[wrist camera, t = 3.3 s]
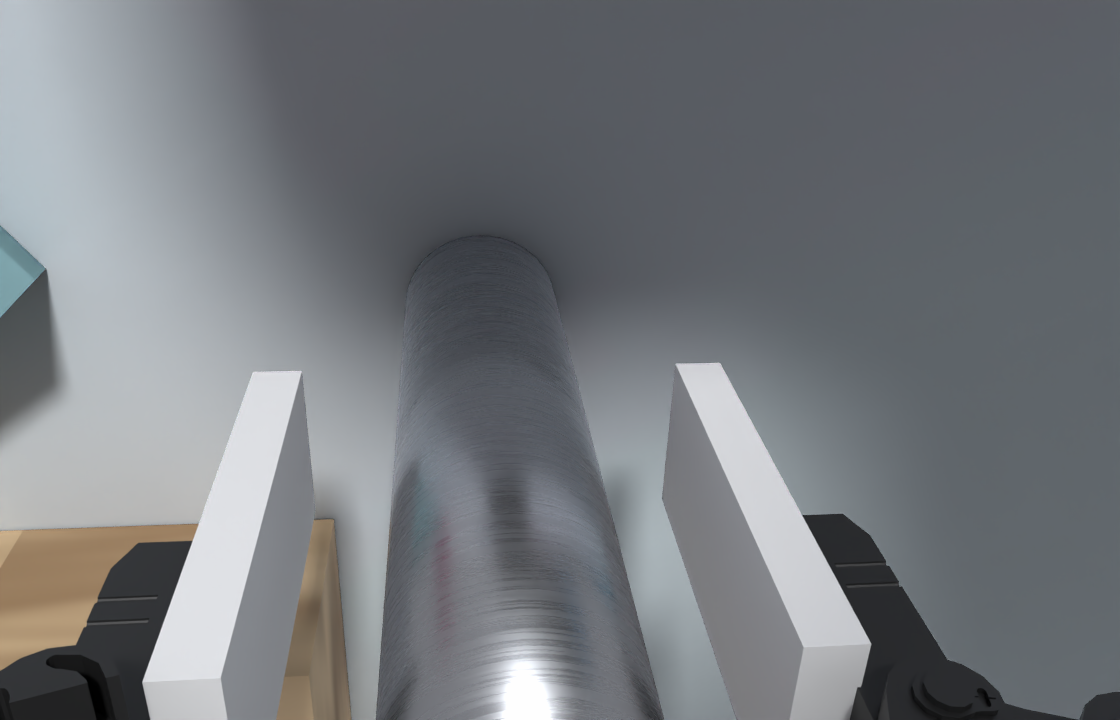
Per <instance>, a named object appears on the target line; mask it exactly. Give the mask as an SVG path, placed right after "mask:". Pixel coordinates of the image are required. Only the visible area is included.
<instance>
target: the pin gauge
mask: <svg viewBox="0 0 1120 720" xmlns="http://www.w3.org/2000/svg"><path fill="white" fill-rule="evenodd" d="M376 720H664V717H663V713H662V709H661V706H660V702H659V698H658V694H657V690H656V686H655V682H654V678H653V675H652V671H651V667H650V663H649V659H648V655H647V651H646V647H645V643H644V640H643V636H642V632H641V628H640V624H639V620H638V616H637V612H636V609H635V605H634V601H633V597H632V593H631V589H630V585H629V581H628V578H627V574H626V570H625V566H624V562H623V558H622V554H621V550H620V546H619V543H618V539H617V535H616V531H615V527H614V523H613V519H612V515H611V512H610V508H609V504H608V500H607V496H606V492H605V488H604V484H603V481H602V477H601V473H600V469H599V465H598V461H597V457H596V453H595V449H594V446H593V442H592V438H591V434H590V430H589V426H588V422H587V418H586V415H585V411H584V407H583V403H582V399H581V395H580V391H579V387H578V384H577V380H576V376H575V372H574V368H573V364H572V360H571V356H570V352H569V349H568V345H567V341H566V337H565V333H564V329H563V325H562V321H561V318H560V314H559V310H558V306H557V302H556V298H555V294H554V290H553V287H552V284H551V281H550V278H549V276H548V274H547V272H546V270H545V269H544V267H543V266H542V265H541V263H540V262H539V261H538V260H537V259H536V258H535V257H534V256H533V255H532V254H531V253H530V252H528V251H527V250H526V249H524V248H523V247H521V246H519V245H517V244H515V243H513V242H511V241H508V240H505V239H502V238H497V237H492V236H470V237H465V238H460V239H457V240H454V241H451V242H449V243H447V244H445V245H443V246H441V247H439V248H438V249H436V250H435V251H433V252H432V253H431V254H430V255H429V256H427V257H426V258H425V260H424V261H423V262H422V263H421V264H420V265H419V267H418V268H417V270H416V271H415V273H414V275H413V277H412V279H411V281H410V284H409V287H408V291H407V297H406V309H405V322H404V336H403V350H402V364H401V378H400V392H399V406H398V420H397V433H396V447H395V461H394V475H393V489H392V503H391V517H390V531H389V544H388V558H387V572H386V586H385V600H384V614H383V628H382V642H381V655H380V669H379V683H378V697H377V711H376Z"/></svg>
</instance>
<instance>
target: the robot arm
mask: <svg viewBox="0 0 1120 720" xmlns="http://www.w3.org/2000/svg"><path fill="white" fill-rule="evenodd" d="M662 500H663V503H664V506H665V509H666V512H667V515H668V518H669V521H670V524H671V527H672V530H673V533H674V535H675V538H676V541H677V544H678V547H679V550H680V553H681V556H682V559H683V562H684V565H685V568H686V571H687V574H688V577H689V580H690V583H691V586H692V589H693V592H694V595H695V598H696V601H697V604H698V606H699V609H700V612H701V615H702V618H703V621H704V624H705V627H706V630H707V633H708V636H709V639H710V642H711V645H712V648H713V651H714V654H715V657H716V660H717V663H718V666H719V669H720V672H721V674H722V677H723V680H724V683H725V686H726V689H727V692H728V695H729V698H730V701H731V704H732V707H733V710H734V713H735V716H736V719H737V720H1076V719H1071V718H1066V717H1061V716H1056V715H1051V714H1046V713H1041V712H1036V711H1031V710H1026V709H1022V708H1019V707H1015V706H1012V705H1008V704H1005V703H1004V701H1003V699H1002V697H1001V695H1000V693H999V692H998V691H997V690H996V689H995V688H994V687H993V686H992V685H991V684H990V683H989V682H988V681H987V680H986V679H985V678H984V677H983V676H981V675H980V674H978V673H976V672H974V671H972V670H971V669H969V668H967V667H965V666H964V665H962V664H959V663H956V662H952V661H949V660H947V659H946V657H945V655H944V654H943V652H942V651H941V649H940V647H939V646H938V644H937V642H936V641H935V639H934V638H933V636H932V634H931V633H930V631H929V630H928V628H927V626H926V625H925V623H924V622H923V620H922V618H921V617H920V615H919V614H918V612H917V610H916V609H915V607H914V605H913V604H912V602H911V601H910V599H909V597H908V596H907V594H906V593H905V591H904V589H903V588H902V587H899V584H898V583H899V581H898V580H897V578H896V576H895V575H894V573H893V572H892V570H891V568H890V567H889V566H886V560H885V559H884V557H883V556H882V554H881V552H880V551H879V549H878V548H877V546H876V544H875V543H874V541H873V539H872V538H871V536H870V535H869V534H867V533H866V532H865V531H864V530H862V529H861V528H860V527H859V526H857V525H856V524H855V523H853V522H852V521H851V520H850V519H848V518H847V517H846V516H845V515H843V514H828V515H802V514H801V512H800V511H799V509H798V507H797V505H796V503H795V501H794V499H793V498H792V496H791V494H790V492H789V490H788V488H787V486H786V485H785V483H784V481H783V479H782V477H781V475H780V473H779V472H778V470H777V468H776V466H775V464H774V462H773V460H772V459H771V457H770V455H769V453H768V451H767V449H766V447H765V446H764V444H763V442H762V440H761V438H760V436H759V434H758V433H757V431H756V429H755V427H754V425H753V423H752V421H751V420H750V418H749V416H748V414H747V412H746V410H745V408H744V407H743V405H742V403H741V401H740V399H739V397H738V395H737V394H736V392H735V390H734V388H733V386H732V384H731V382H730V381H729V379H728V377H727V375H726V373H725V371H724V369H723V368H722V366H721V364H720V363H685V364H675V374H674V384H673V394H672V404H671V414H670V423H669V433H668V443H667V453H666V463H665V473H664V483H663V493H662ZM315 511H316V510H315V500H314V489H313V479H312V469H311V459H310V448H309V438H308V428H307V418H306V408H305V397H304V387H303V377H302V371H270V372H253V373H252V376H251V379H250V382H249V385H248V387H247V390H246V393H245V396H244V399H243V401H242V404H241V407H240V410H239V413H238V415H237V418H236V421H235V424H234V427H233V429H232V432H231V435H230V438H229V441H228V443H227V446H226V449H225V452H224V455H223V458H222V460H221V463H220V466H219V469H218V472H217V474H216V477H215V480H214V483H213V486H212V488H211V491H210V494H209V497H208V500H207V502H206V505H205V508H204V511H203V514H202V516H201V519H200V522H199V525H198V528H197V530H196V533H195V536H194V539H193V541H170V542H143V543H137V544H136V545H135V546H134V547H133V548H132V549H131V550H130V551H129V552H128V553H127V554H126V555H125V556H123V557H122V558H121V559H120V560H119V561H118V562H117V563H116V564H115V565H114V566H113V567H112V568H111V569H110V571H109V573H108V575H107V578H106V580H105V582H104V584H103V586H102V588H101V591H100V593H99V595H98V597H97V598H98V601H97V603H95V604H94V606H93V608H92V610H91V613H90V615H89V617H88V619H87V626H86V627H84V628H83V630H82V632H81V634H80V637H79V639H78V641H77V643H76V645H71V646H63V647H55V648H47V649H44V650H42V651H39V652H36V653H33V654H31V655H28V656H25V657H22V658H20V659H18V660H17V661H15V662H13V663H12V664H10V665H9V666H7V667H5V668H4V669H2V670H1V671H0V720H276V718H277V712H278V707H279V702H280V696H281V691H282V686H283V680H284V675H285V670H286V665H287V659H288V654H289V649H290V643H291V638H292V633H293V627H294V622H295V617H296V612H297V606H298V601H299V596H300V590H301V585H302V580H303V574H304V569H305V564H306V559H307V553H308V548H309V543H310V537H311V532H312V527H313V521H314V516H315ZM1080 720H1120V692H1112V693H1107V694H1101V695H1097V696H1096V697H1094V698H1093V699H1092V700H1091V701H1089V702H1088V703H1087V704H1086V705H1085V707H1084V709H1083V712H1082V714H1081V717H1080Z"/></svg>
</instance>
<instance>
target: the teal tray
mask: <svg viewBox="0 0 1120 720" xmlns="http://www.w3.org/2000/svg"><path fill="white" fill-rule="evenodd" d="M44 270H45V268H44V267H43V266H42V265H41V264H40V263H39V262H38V261H37V260H36V259H35V258H34V257H33V256H32V255H31V254H30V253H29V252H28V251H27V250H25V249H24V248H23V247H22V246H21V245H20V244H19V243H18V242H17V241H16V240H15V239H14V238H13V237H12V236H11V235H10V234H9V233H8V232H7V231H6V230H4V229H3V228H2V227H1V226H0V317H1V316H2V315H3V314H4V313H5V312H6V311H7V310H8V309H9V308H10V306H11V305H12V304H13V303H14V302H15V301H16V300H17V299H18V298H19V297H20V296H21V295H22V294H23V293H24V291H25V290H26V289H27V288H28V287H29V286H30V285H31V284H32V283H33V282H34V281H35V280H36V279H37V278H38V276H39V275H40V274H41V273H42V272H43V271H44Z"/></svg>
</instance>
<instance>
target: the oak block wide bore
mask: <svg viewBox="0 0 1120 720" xmlns="http://www.w3.org/2000/svg"><path fill="white" fill-rule="evenodd" d="M198 525H199V524H182V525H154V526H126V527H98V528H70V529H42V530H14V531H0V671H1V670H2V669H4V668H5V667H7V666H9V665H10V664H12V663H13V662H15V661H17V660H18V659H20V658H22V657H25V656H28V655H31V654H33V653H36V652H39V651H42V650H44V649H47V648H55V647H63V646H71V645H76V643H77V641H78V639H79V637H80V634H81V632H82V630H83V628H84V627H86V626H87V619H88V617H89V615H90V613H91V610H92V608H93V606H94V604H95V603H97V601H98V598H97V597H98V595H99V593H100V591H101V588H102V586H103V584H104V582H105V580H106V578H107V575H108V573H109V571H110V569H111V568H112V567H113V566H114V565H115V564H116V563H117V562H118V561H119V560H120V559H121V558H122V557H123V556H125V555H126V554H127V553H128V552H129V551H130V550H131V549H132V548H133V547H134V546H135V545H136V544H137V543H143V542H170V541H193V539H194V536H195V533H196V530H197V528H198ZM276 720H351V709H350V698H349V686H348V675H347V664H346V652H345V641H344V629H343V618H342V607H341V595H340V584H339V573H338V561H337V550H336V538H335V527H334V519H322V520H314V521H313V527H312V532H311V537H310V543H309V548H308V553H307V559H306V564H305V569H304V574H303V580H302V585H301V590H300V596H299V601H298V606H297V612H296V617H295V622H294V627H293V633H292V638H291V643H290V649H289V654H288V659H287V665H286V670H285V675H284V680H283V686H282V691H281V696H280V702H279V707H278V712H277V718H276Z"/></svg>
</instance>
